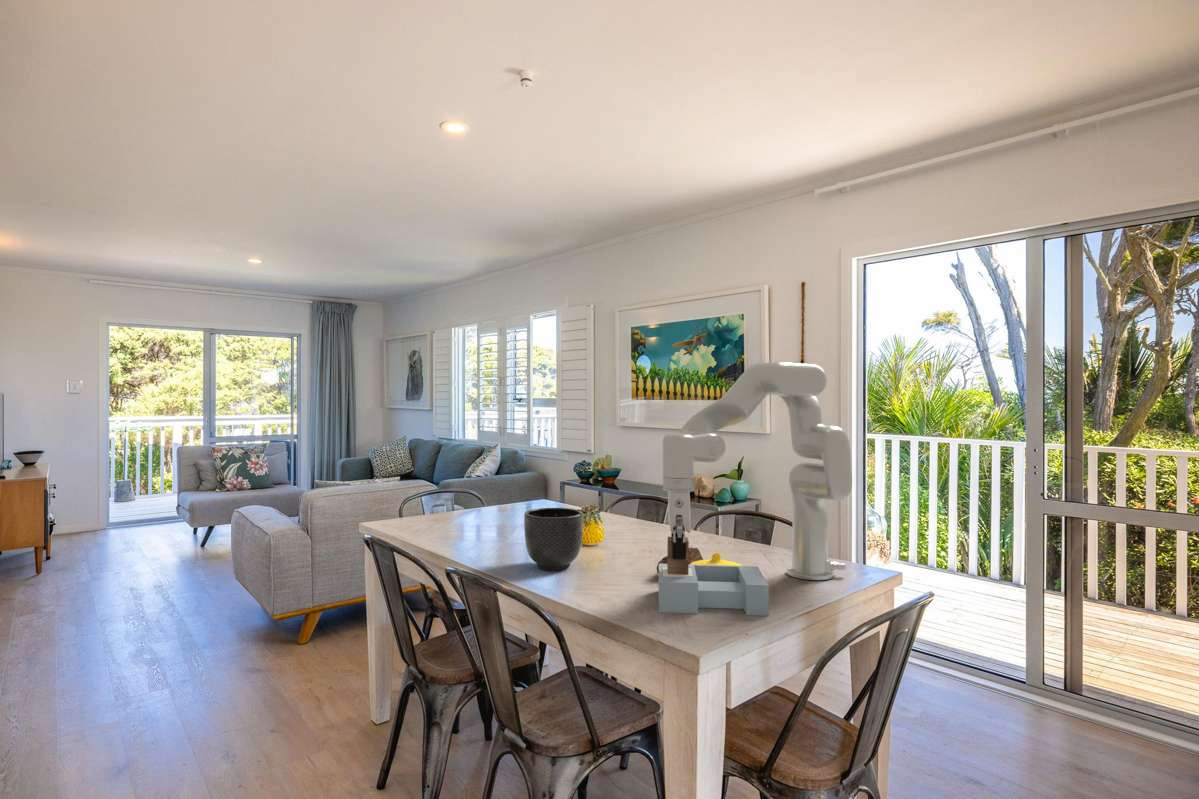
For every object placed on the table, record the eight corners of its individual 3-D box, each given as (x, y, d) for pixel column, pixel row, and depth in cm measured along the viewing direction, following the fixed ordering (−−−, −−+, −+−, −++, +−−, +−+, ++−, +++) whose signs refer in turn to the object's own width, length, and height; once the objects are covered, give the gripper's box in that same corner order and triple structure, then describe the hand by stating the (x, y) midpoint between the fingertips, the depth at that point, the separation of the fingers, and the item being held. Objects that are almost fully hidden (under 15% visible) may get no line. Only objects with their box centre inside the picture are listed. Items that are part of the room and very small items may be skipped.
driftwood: (682, 584, 177) (683, 554, 177) (653, 581, 180) (654, 551, 180) (704, 565, 198) (704, 538, 198) (678, 562, 201) (678, 535, 201)
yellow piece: (675, 579, 182) (675, 553, 182) (709, 569, 193) (709, 544, 193) (723, 591, 171) (724, 564, 171) (757, 579, 182) (757, 554, 182)
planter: (594, 568, 193) (595, 513, 192) (545, 578, 182) (545, 520, 182) (560, 556, 206) (560, 505, 206) (512, 565, 195) (512, 511, 195)
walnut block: (687, 569, 164) (687, 537, 164) (688, 574, 159) (688, 541, 159) (667, 568, 165) (667, 536, 165) (667, 574, 160) (667, 540, 160)
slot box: (757, 593, 169) (757, 565, 169) (768, 615, 152) (768, 584, 152) (658, 590, 171) (658, 562, 171) (659, 612, 154) (659, 580, 154)
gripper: (695, 489, 153) (696, 563, 153) (691, 479, 170) (692, 545, 170) (663, 489, 154) (663, 562, 154) (662, 479, 171) (662, 545, 171)
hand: (678, 553), depth 162 cm, fingers open, 9 cm apart
